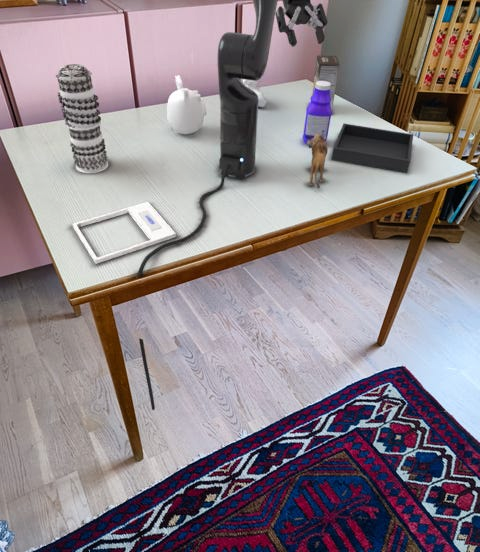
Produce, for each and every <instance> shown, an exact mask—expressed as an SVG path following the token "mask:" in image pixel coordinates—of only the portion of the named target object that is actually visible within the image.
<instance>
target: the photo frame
mask: <svg viewBox="0 0 480 552" xmlns="http://www.w3.org/2000/svg"><path fill="white" fill-rule="evenodd" d="M125 214H129V216H130V217H131V218H132V219H133V220H134V222H135V223H136V224H137V225H138V227H139V228H140V229H141V230H142V232H143V233H144V234H145V235H146V237H147V238H148V240H146V241H143V242H140V243H137V244H134V245H131V246H127V247H125V248H122V249H119V250H116V251H112V252H110V253H106V254H103V255H101V256H97V255H96V254H95V252H94V250H93V249H92V247H91V245H90V243H88V240H87V239H86V237H85V236H84V234H83V233H82V231H81V230H80V228H81V227H85V226H88V225H91V224H95V223H98V222H102V221H105V220H108V219H112V218H115V217H119V216H122V215H125ZM71 225H72V228H73V230H74V231H75V233H76V234H77V236H78V238H79V239H80V241H81V242H82V244H83V246H84V247H85V249H86V251H87V252H88V254H89V256H90V257H91V258H92V260H93V262H94V264H95V265H97V264H100V263H103V262H106V261H110V260H111V259H114V258H117V257H120V256H123V255H124V256H125V255H127V254H130V253H132V252H135V251H139V250H141V249H144V248H145V249H146V248H147V247H150V246H153V245H156V244H160V243H163V242H165V241H168V240H172V239H174V238H176V237H177V233H176V232H175V231H174V229H173V228H172V227H171V226H170V225H169V224H168V223H167V221H166V220H165V219H164V218H163V217H162V216H161V215H160V214H159V212H158V211H157V210H156V209H155V208H154V207H153V206H152V205H151V203H150V202H149V201H145V202H142V203H138V204H135V205H132V206H128V207H125V208H123V209H121V208H120V209H118V210H115V211H112V212H108V213H105V214H101V215H98V216H94V217H92V218H87V219H84V220H80V221H78V222H74V223H72V224H71Z"/></svg>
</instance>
